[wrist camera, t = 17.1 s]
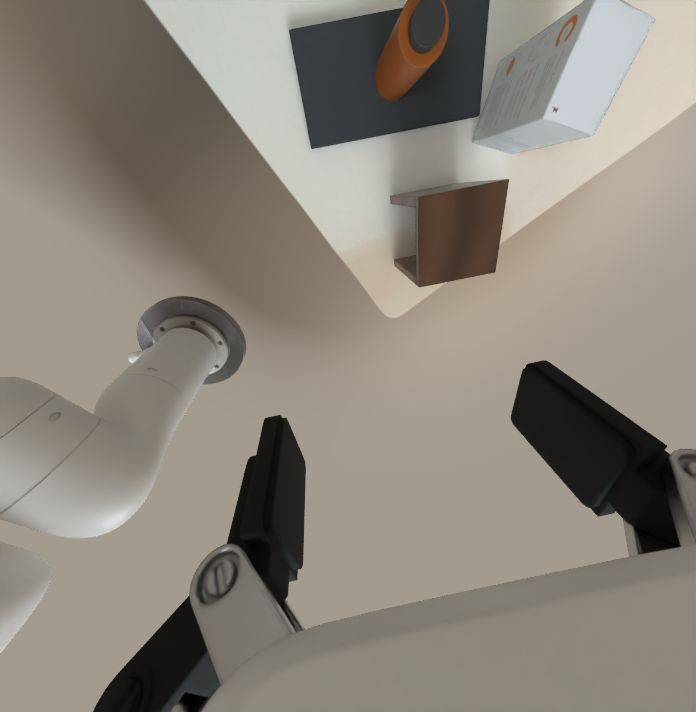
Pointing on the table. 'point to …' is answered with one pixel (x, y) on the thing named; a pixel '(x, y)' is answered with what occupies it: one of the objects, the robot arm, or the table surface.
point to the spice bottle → (411, 47)
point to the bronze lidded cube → (454, 231)
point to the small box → (562, 78)
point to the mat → (357, 75)
